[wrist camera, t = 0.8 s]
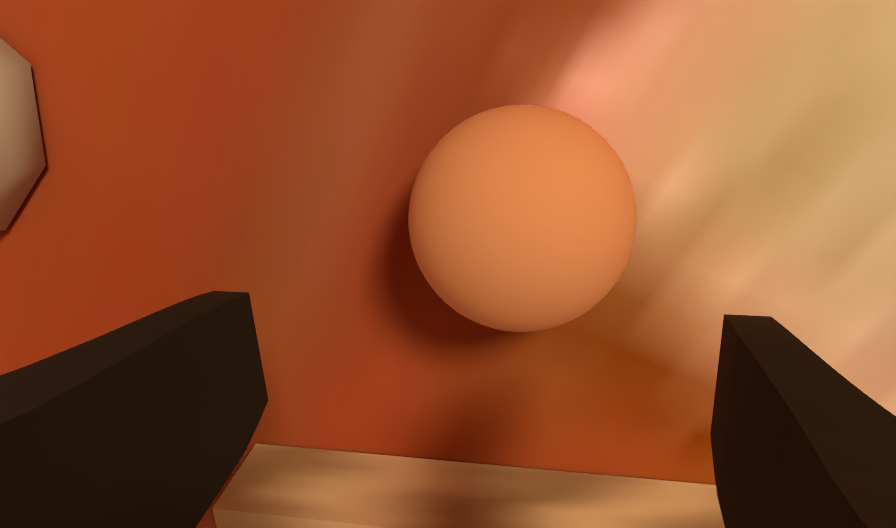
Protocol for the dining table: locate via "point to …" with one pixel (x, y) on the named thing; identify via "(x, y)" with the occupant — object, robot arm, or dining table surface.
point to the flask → (17, 133)
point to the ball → (522, 218)
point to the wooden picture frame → (446, 495)
